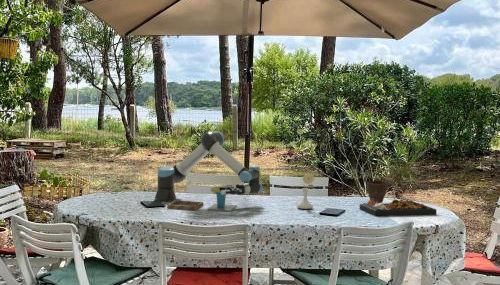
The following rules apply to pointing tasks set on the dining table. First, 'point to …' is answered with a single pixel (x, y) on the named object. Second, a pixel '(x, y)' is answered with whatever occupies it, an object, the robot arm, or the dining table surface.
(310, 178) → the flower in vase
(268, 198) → the dining table surface
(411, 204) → the food platter
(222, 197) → the cup
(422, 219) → the dining table surface
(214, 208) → the board
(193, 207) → the wooden picture frame
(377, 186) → the plant pot
